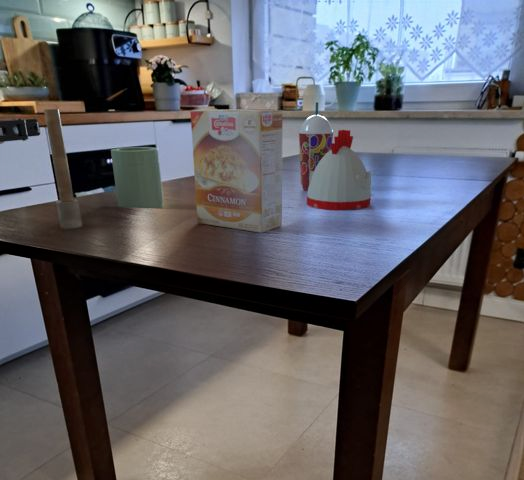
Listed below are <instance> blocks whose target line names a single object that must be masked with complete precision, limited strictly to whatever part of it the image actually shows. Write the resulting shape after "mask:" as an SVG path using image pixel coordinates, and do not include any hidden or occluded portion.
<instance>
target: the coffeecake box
mask: <svg viewBox="0 0 524 480" xmlns="http://www.w3.org/2000/svg"><path fill="white" fill-rule="evenodd" d="M189 112H190V127H191V128H190V129H191V140H192V141H191V142H192V159H193V173H194V187H195V188H194V189H195V190H194V191H195V205H196V216H197V217H196V219H197V222H196V223H197V224H201V225H207V226H213V227H214V226H215V227H220V228H227V229H232V230H240V231H246V232H253V233H259V234H263V233H266V232H269V231H270V230H273V229H277V228H279V227H281V226H282V224H283V223H282V222H283V110H282V109H281V110H274V109H272V110H271V109H269V110H267V109H266V110H264V109H263V110H261V109H260V110H259V109H192V110H190V111H189Z"/></svg>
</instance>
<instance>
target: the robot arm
mask: <svg viewBox="0 0 524 480" xmlns="http://www.w3.org/2000/svg"><path fill="white" fill-rule="evenodd" d="M39 123H40V122H39V120H38V119H37V118H16V117H12V118H10V119H9V118H8V119H0V145H2V144H4V143H5V142H15V141H23V142H24V141H25V142H26V141H27V140H29V139H30V137H39V136H40V135H41V128H40V124H39Z"/></svg>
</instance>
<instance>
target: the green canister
mask: <svg viewBox="0 0 524 480" xmlns="http://www.w3.org/2000/svg"><path fill="white" fill-rule="evenodd" d="M110 154H111V162H112V163H111V164H112V169H113V177H114V186H115V192H116V200H117V205H118V208H133V209H157V210H158V209H160V210H163V209H164V197H163V185H162V175H161V164H160V163H161V162H160V154H159V148H158V147H152V146H128V147H117V148H112V149H110Z"/></svg>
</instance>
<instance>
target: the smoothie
mask: <svg viewBox="0 0 524 480" xmlns="http://www.w3.org/2000/svg"><path fill="white" fill-rule="evenodd" d="M314 111H315V113H314V114H313V115H310V116H309V117H307V118H306V119H305V120H304V121H303V122H302V124H301V127H300V129H299V130H298V140H299V141H298V142H299V143H298V144H299V169H300V172H299V173H300V185H301V186H302V190H304V191H306V192H308V188H309V184H310V173H311V171H314V170H315V168H316V166H317V165H318V163H319V162H320V160H321V159H322V158H323V157H324V155H325V154H326V153H328V152H329V151H330V150H331V143H333V139H334V130H333V128H332V126H331V123H330V121H329V120H328V119H327V118H326V117H325V116H322V115H320V114H319V102H315V110H314Z"/></svg>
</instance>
